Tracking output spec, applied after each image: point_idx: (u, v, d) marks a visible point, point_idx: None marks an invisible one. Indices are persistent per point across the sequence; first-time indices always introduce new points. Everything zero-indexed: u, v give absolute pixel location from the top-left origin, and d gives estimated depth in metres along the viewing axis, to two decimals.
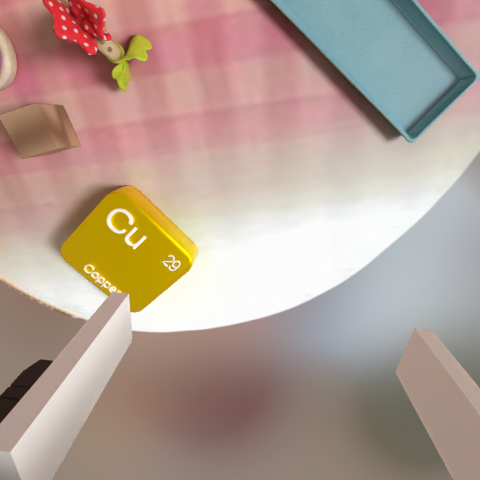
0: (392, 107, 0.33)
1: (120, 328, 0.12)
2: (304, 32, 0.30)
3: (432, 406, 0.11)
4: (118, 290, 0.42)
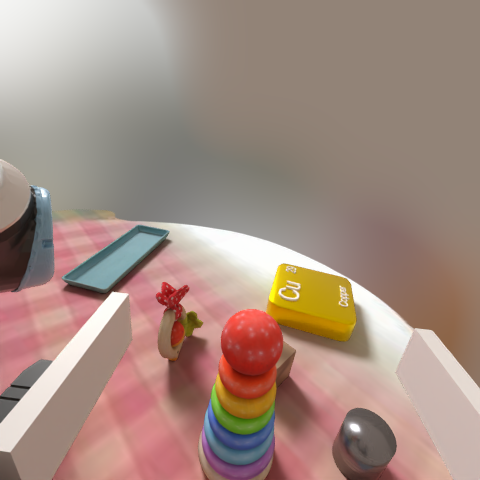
0: (156, 242, 0.68)
1: (120, 328, 0.12)
2: (131, 265, 0.56)
3: (432, 406, 0.11)
4: (340, 287, 0.54)
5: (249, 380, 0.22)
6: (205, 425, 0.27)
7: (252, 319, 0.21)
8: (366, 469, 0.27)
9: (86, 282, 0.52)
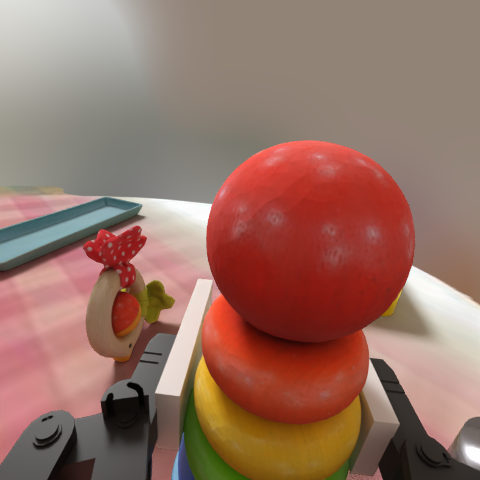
0: None
1: None
2: (62, 237, 0.39)
3: None
4: None
5: (303, 363, 0.07)
6: None
7: (314, 142, 0.06)
8: None
9: None
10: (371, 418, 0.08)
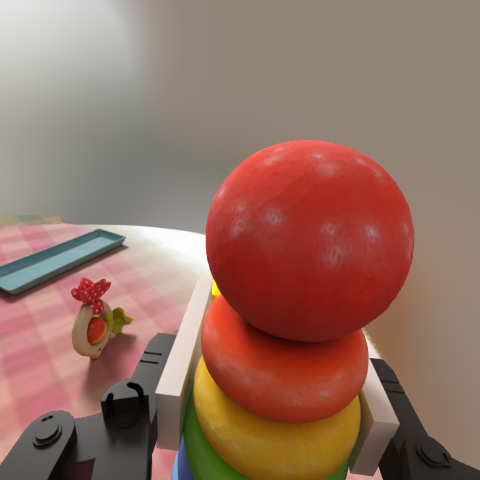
0: None
1: None
2: (56, 268, 0.53)
3: None
4: None
5: (303, 362, 0.07)
6: None
7: (313, 141, 0.06)
8: None
9: (4, 281, 0.50)
10: (371, 418, 0.08)
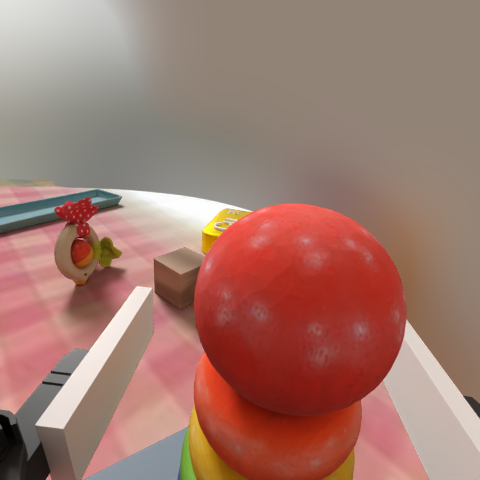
0: None
1: (145, 320, 0.13)
2: (41, 215, 0.51)
3: (402, 389, 0.11)
4: None
5: (294, 431, 0.07)
6: None
7: (302, 214, 0.06)
8: None
9: None
10: None
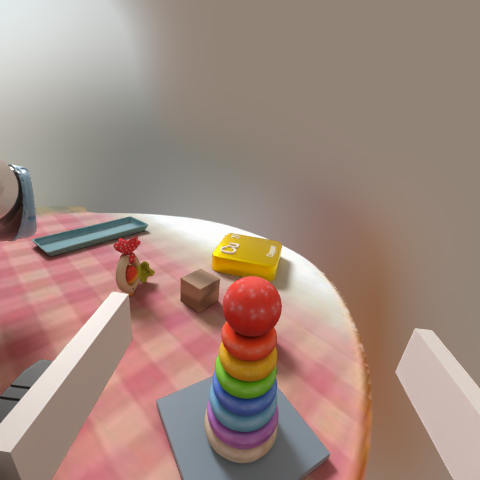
0: None
1: (120, 328, 0.12)
2: (85, 241, 0.67)
3: (432, 406, 0.11)
4: (271, 246, 0.69)
5: (252, 342, 0.23)
6: (210, 399, 0.27)
7: (251, 282, 0.23)
8: None
9: (48, 247, 0.66)
10: None
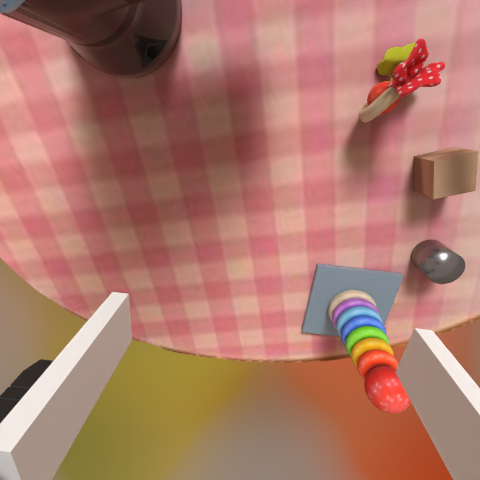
0: None
1: (120, 328, 0.12)
2: None
3: (432, 406, 0.11)
4: None
5: None
6: (340, 320, 0.43)
7: (393, 408, 0.31)
8: (422, 271, 0.43)
9: None
10: None
